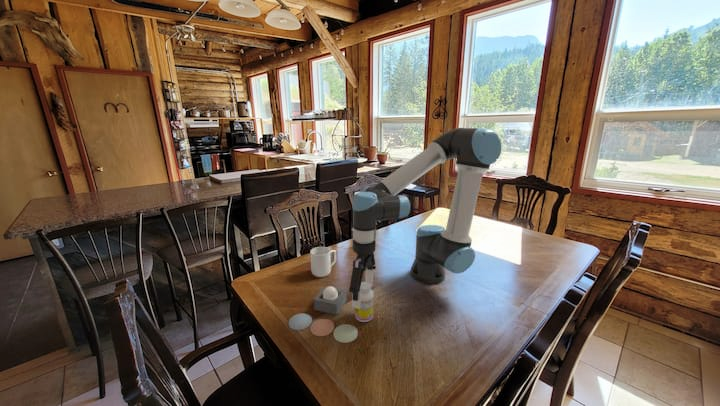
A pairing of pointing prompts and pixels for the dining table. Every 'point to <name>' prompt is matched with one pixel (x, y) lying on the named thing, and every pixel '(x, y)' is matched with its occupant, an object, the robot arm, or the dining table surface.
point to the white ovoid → (330, 293)
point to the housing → (330, 302)
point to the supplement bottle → (365, 303)
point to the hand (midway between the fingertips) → (362, 295)
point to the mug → (321, 261)
